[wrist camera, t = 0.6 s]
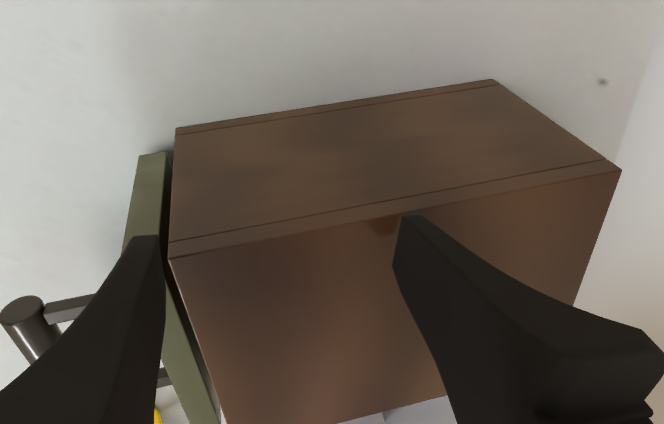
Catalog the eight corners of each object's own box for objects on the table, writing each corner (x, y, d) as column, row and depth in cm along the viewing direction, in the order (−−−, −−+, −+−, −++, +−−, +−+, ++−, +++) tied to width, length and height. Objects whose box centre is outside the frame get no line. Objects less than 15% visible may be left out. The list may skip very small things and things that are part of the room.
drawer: (104, 333, 26) (79, 463, 20) (18, 174, 20) (-52, 298, 14) (432, 262, 29) (491, 359, 23) (447, 105, 23) (532, 184, 17)
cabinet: (225, 303, 28) (236, 450, 21) (175, 127, 21) (167, 259, 14) (466, 251, 31) (550, 368, 23) (493, 78, 24) (623, 169, 17)
